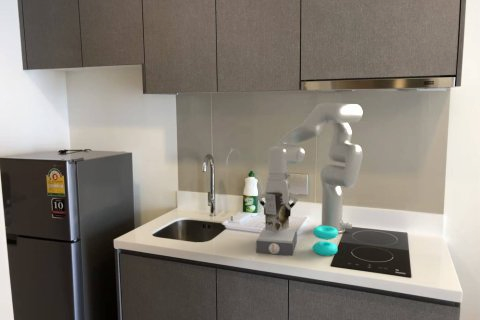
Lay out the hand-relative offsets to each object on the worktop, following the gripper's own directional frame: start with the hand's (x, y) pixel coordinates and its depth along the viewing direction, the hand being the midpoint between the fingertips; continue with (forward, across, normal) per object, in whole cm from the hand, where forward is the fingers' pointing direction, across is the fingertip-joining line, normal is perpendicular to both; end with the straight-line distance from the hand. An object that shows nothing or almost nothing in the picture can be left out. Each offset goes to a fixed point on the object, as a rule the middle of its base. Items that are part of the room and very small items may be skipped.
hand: (277, 216), depth 167 cm
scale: (+13, 0, 0) cm, 13 cm away
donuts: (+14, -20, 0) cm, 24 cm away
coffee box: (+5, 0, 0) cm, 5 cm away
